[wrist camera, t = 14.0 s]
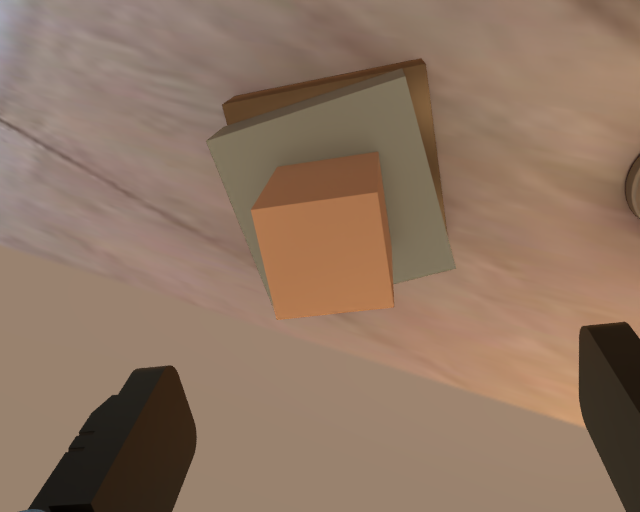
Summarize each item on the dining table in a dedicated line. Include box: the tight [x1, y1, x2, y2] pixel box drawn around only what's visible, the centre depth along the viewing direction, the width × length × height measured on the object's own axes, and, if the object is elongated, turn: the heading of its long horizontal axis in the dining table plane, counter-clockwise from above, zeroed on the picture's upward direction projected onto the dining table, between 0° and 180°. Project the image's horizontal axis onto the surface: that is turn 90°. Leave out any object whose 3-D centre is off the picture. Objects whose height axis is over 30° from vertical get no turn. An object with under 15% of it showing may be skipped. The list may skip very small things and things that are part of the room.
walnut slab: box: [222, 59, 447, 232], centre depth 37 cm, size 12×12×4 cm
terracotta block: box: [251, 152, 394, 320], centre depth 29 cm, size 6×6×7 cm
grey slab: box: [206, 68, 456, 308], centre depth 34 cm, size 11×11×4 cm
